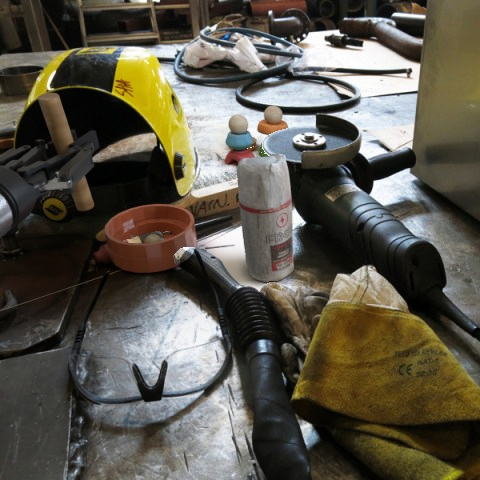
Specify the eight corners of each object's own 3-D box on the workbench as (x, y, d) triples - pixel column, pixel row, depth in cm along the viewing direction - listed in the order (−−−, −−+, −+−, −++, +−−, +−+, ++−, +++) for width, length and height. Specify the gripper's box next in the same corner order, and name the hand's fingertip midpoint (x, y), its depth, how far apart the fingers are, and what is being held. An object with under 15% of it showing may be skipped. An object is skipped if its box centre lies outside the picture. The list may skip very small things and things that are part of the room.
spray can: (250, 288, 75) (243, 170, 65) (238, 261, 82) (230, 149, 72) (301, 278, 78) (302, 163, 68) (285, 252, 84) (284, 144, 74)
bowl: (94, 257, 81) (86, 226, 78) (161, 225, 92) (156, 197, 89) (148, 287, 75) (142, 255, 72) (214, 249, 85) (211, 219, 82)
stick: (73, 206, 76) (34, 96, 65) (89, 200, 77) (53, 91, 66) (81, 213, 74) (42, 101, 63) (97, 206, 76) (61, 96, 65)
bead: (152, 228, 82) (138, 236, 80) (165, 235, 81) (151, 244, 79) (155, 241, 84) (141, 250, 82) (167, 248, 83) (154, 257, 81)
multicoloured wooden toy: (241, 140, 135) (239, 95, 128) (294, 151, 128) (294, 104, 121) (199, 159, 121) (194, 110, 114) (255, 174, 114) (253, 122, 108)
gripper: (-71, 230, 57) (42, 158, 77) (58, 239, 56) (138, 163, 76) (-97, 172, 53) (29, 112, 73) (40, 179, 52) (129, 117, 72)
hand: (84, 138), depth 74 cm, fingers closed on stick, 3 cm apart
